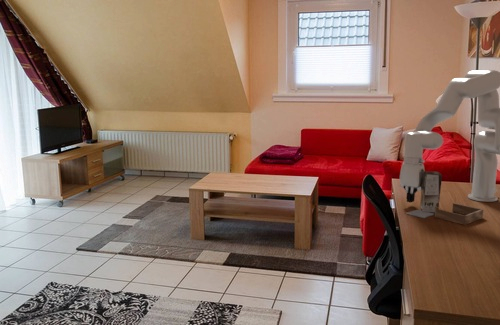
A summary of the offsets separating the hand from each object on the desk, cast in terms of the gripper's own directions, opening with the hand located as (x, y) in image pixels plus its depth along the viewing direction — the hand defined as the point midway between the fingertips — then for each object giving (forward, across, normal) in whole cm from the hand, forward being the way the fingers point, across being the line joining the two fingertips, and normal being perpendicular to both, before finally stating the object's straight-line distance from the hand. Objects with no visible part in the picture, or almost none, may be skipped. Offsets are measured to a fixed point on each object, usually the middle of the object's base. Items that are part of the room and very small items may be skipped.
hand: (410, 201), depth 214 cm
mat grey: (+2, -10, +8) cm, 13 cm away
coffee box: (+2, -9, 0) cm, 9 cm away
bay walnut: (+2, -22, 0) cm, 22 cm away
